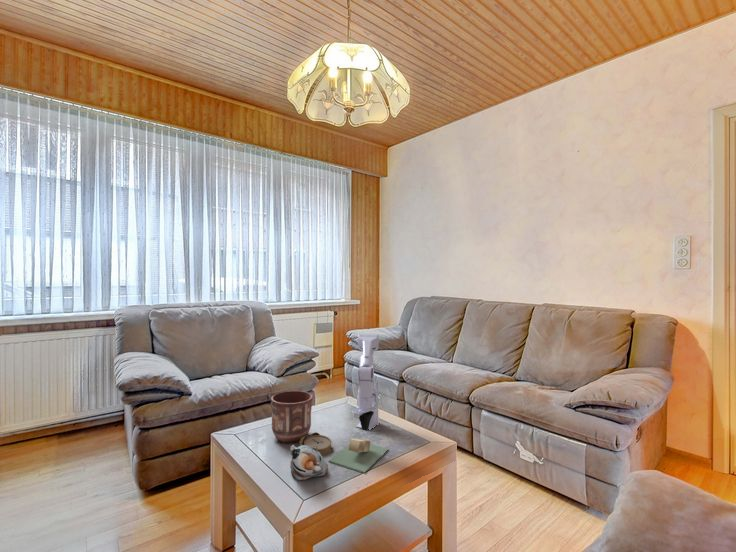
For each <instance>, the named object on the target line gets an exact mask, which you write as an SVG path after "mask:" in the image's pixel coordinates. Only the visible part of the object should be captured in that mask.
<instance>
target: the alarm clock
mask: <svg viewBox="0 0 736 552" xmlns="http://www.w3.org/2000/svg"><path fill="white" fill-rule="evenodd" d="M298 443H299V446H301V445H307V446H310V447H311V448H312V449H313V447H314V446H316V447H317V451H318V452H319V453H320V454H321V455H322V457H323V456H325V455H328V454H329V453H331V452H332V451H331V450H333V449H334V447H333V446H332V440H331V438H329V436H326V435H321V434H320V433H319V432H313V433H311V434H307V435H304V436H302V437H301V440H300V441H298Z"/></svg>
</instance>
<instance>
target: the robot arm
mask: <svg viewBox="0 0 736 552" xmlns="http://www.w3.org/2000/svg"><path fill="white" fill-rule="evenodd" d="M379 342H380V337H379V334H378V333H360V332H359V333H358V335H357V346H358V350H359V351H360V352H361V351H362V355H361V356H360V357H359V367H358V368H357V385H358V390H357V397H356V405H357V408H356V410H355V411H354V413H353V418H355V419H358V420H359V423H358V424H357V425H355V426H356V428H360V429H361V430H363V431H372V430H373V429H375V428H376V427H377V426H379V425H380V424H379V422H380V421H379V407H378V405H379V391H378V389H377V388H376V387H374V384H373V382H374V380H375V369H374V353H375V352H376V351H379V344H380V343H379ZM376 425H377V426H376ZM375 426H376V427H375ZM374 427H375V428H374ZM372 428H373V429H372ZM368 429H369V430H368ZM371 429H372V430H371Z"/></svg>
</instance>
